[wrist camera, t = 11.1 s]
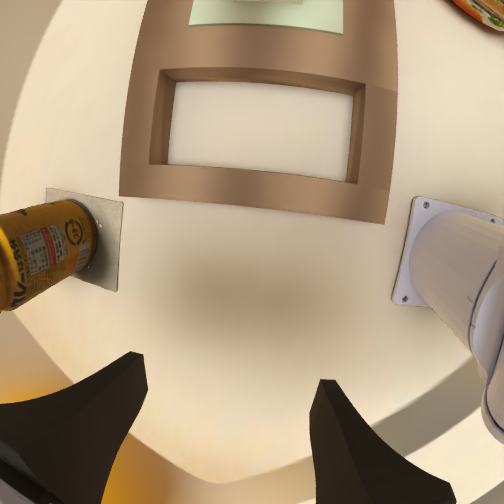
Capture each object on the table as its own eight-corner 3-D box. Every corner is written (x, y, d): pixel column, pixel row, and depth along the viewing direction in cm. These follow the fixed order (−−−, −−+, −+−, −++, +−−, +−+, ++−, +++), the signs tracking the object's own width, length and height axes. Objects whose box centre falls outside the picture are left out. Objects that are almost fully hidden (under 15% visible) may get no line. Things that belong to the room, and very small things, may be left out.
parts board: (377, -23, 13) (388, -44, 10) (369, 216, 18) (386, 225, 15) (177, -35, 14) (164, -55, 11) (140, 191, 19) (116, 196, 16)
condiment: (47, 187, 20) (-65, 214, 9) (124, 202, 20) (-4, 243, 8) (46, 265, 22) (-47, 319, 11) (118, 290, 22) (22, 375, 10)
